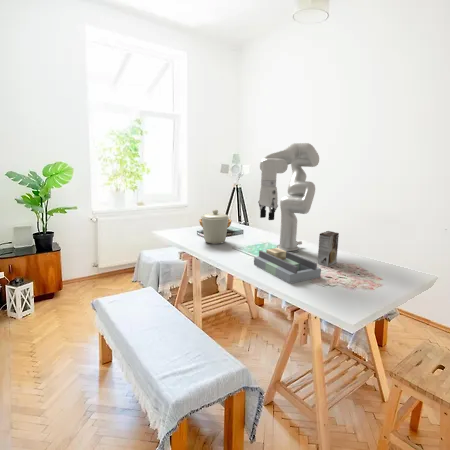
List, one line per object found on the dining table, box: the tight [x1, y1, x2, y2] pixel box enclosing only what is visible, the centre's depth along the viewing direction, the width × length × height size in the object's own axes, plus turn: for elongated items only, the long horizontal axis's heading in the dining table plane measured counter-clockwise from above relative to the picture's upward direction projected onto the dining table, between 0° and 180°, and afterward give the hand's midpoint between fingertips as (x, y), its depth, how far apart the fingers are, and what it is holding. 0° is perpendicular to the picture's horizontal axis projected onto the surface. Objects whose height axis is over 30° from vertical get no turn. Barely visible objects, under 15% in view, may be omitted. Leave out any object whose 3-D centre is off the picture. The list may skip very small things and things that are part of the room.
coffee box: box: [316, 230, 339, 267], centre depth 166 cm, size 9×6×16 cm
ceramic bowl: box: [198, 218, 232, 229], centre depth 239 cm, size 30×24×8 cm
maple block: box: [265, 247, 286, 260], centre depth 161 cm, size 7×7×4 cm
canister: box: [200, 209, 231, 245], centre depth 205 cm, size 18×18×21 cm
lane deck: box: [253, 248, 322, 284], centre depth 155 cm, size 18×28×7 cm, turn 28°
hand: (267, 218), depth 166 cm, fingers open, 6 cm apart
